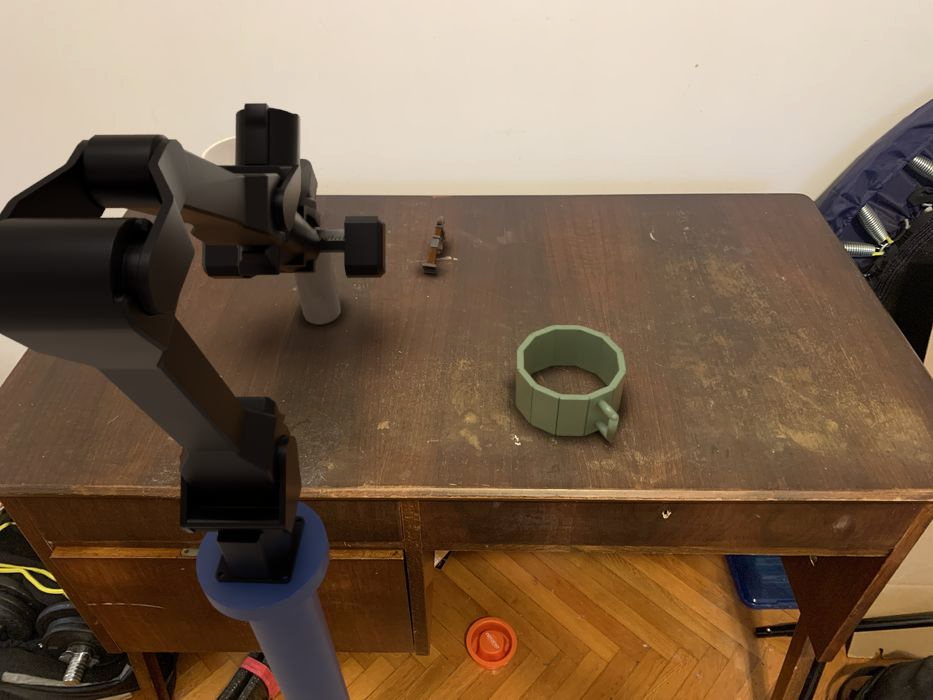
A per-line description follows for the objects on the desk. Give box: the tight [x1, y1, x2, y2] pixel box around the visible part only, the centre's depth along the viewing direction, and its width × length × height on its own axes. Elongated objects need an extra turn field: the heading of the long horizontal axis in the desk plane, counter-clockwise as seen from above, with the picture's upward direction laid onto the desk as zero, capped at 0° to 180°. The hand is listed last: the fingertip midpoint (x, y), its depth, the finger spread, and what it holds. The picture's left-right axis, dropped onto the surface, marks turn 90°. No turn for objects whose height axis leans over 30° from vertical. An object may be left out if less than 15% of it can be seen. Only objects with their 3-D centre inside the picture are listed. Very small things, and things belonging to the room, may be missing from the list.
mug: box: [514, 324, 627, 442], centre depth 75 cm, size 14×11×6 cm
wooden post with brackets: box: [421, 215, 447, 275], centre depth 96 cm, size 2×8×4 cm, turn 168°
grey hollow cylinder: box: [293, 238, 342, 325], centre depth 85 cm, size 4×4×10 cm
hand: (313, 260), depth 84 cm, fingers open, 9 cm apart
